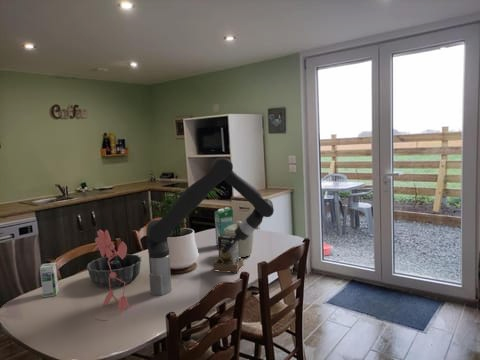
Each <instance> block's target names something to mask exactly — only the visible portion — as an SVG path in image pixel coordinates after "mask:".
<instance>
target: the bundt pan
mask: <svg viewBox="0 0 480 360" xmlns="http://www.w3.org/2000/svg"><path fill="white" fill-rule="evenodd" d="M114 255H115V254H112V256H114ZM112 256H110V258H111V257H112ZM108 260H109V258H108V257H107V256H104V257H102V256H101V257H100V258H97V259H95V260H92V261H91V262H89V263H87V266H86V269H87V271H88V274H89V278H90V280H91V282H92V283H94V284H95V285H97V286H99V287H100V286H101V287H102V288H106V287H109V288H110V287H115V286H116V285H117V286H119V287H120V286H122V285H124V282H125V285H126V284H128V283H130V282H131V283H132V282H133V281H134V280H135V279H136V278H137V277H138V276H139V274H140V271H141V270H140V269H141V262H142V257H141V256H140V255H138V254H130V253H126V255H125V257H124V258H123V259H121V258H120V256H119V255H118V254H116V255H115V256H114V257H113V258H112V259H111V260H110V261H109V264H110V267H111V270H112V272H115V273H116V278H118V279H120V280H122V281H124V282H122V281H120V280H118V279H116V278H113V279H112V278H110V277H109V275H110V273H111V271H110V268H109V265H108V262H107V261H108ZM109 278H110V286H109Z"/></svg>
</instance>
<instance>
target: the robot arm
mask: <svg viewBox="0 0 480 360" xmlns="http://www.w3.org/2000/svg"><path fill="white" fill-rule="evenodd" d="M233 169H234V166H233V162H232V161H231V160H230V159H229V158H227V157H217V158H215V159H213V160H212V162H210V170H209V171H208V172H207V173H206V174H205V175H204V176H203V177H201V178H200V179H198V180H197V181H195V182H193V183H192V184H191V185H189V186H188V187H187V188H186V189H185V190H184V191H183V192H182V193H181V194H180V195H179V196H178V198H177V199H176V200H175V202H174V203H173V205H172V206H171V208H170V209H169V210H168V212H167V213H166V214H165V215H164V216H163V217H162V218H160V219H154V220H152V221H150V222H149V223H148V224H147V226H146V242H147V243H146V244H147V251H148V261H149V263H148V264H149V274H148V277H149V278H148V279H149V291H150V295H154V296H155V295H156V296H163V295H167V294H169V293H170V292H172V276H171V262H170V261H171V260H170V259H171V258H170V249H169V248H170V247H169V244H168V238H169V236H170V235H171V234H172V233H173V232H174V230H175V229H176V228H177V226H178V225H180V223H182V221H183V220H185V219H186V218H187V216H189V215H190V214H191V213H192V212H193V211H194V210H195V209H197V207H198V206H199V205H200V204H202V203H203V201H204V200H205V198H206V197H208V195H210V193H211V192H212V191H213V190H214V189H215V188H216V187H217V186H218V185H219V184H221V183H222V182H223V181H224V182H226V183H227V184H228V185H230V186H231V187H232V188H233V189H234V190H235V191H237V192H238V194H240V195H241V196H242V197H243V198H244V199H245V200H246V201H248V202H249V203H250V205H252V206H253V208H254V209H253V211H252V212H251V214H249V215H248V216H247V218H245V219H244V220H243V221H241V222H242V223H241V224H240V225H239V226H238V227H237V228H236V229H235V235H234V236H233V237H232V238H233V239H231V240H230V242H229V243H228V244H229V245H230V247H229V246H228V244H227V245H225V247H224V248H223V249H222V252H223V253H226V251H227V250H228V249H230V248H231V247H232V245H233V246H234V245H235V244H236V243H238V242H239V241H240V240H246V239H247V238H248V237H249V236H250V235H251V234H252V233H253V231H254V232H255V231H256V229H257V228H258V227H259V226H260V225H261V224H262V223H263V219H264V218H270V217H272V216H273V214H274V211H275V210H274V204H273V201H271V199H269V198H263V196H262V195H263V194H262V193H261V192H260V191H258V190H257V188H255V186H253V185H252V184H251V183H249V182H248V181H247V180H245V179H243V178H242V177H241V176H239V174H237V173H236V172H235V171H234V170H233ZM253 234H254V233H253ZM234 243H235V244H234Z"/></svg>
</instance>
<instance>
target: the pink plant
mask: <svg viewBox="0 0 480 360" xmlns="http://www.w3.org/2000/svg"><path fill="white" fill-rule="evenodd" d="M96 233H97V237H95V239H94V242H95V243H96V244H97V245H96V246H95V247H94V248H93V250H92V252H95V250H97V249H98V250H99V255H100V256H101V258H102V257H108V258H109V260H108V261H107V262H108V265H109V268H110V271H111V273H110V275H109V277H110V278H112V279H113V278H116V273H115V272H112V270H111V267H110V264H109V261H110V260H111V259H112V258H113V257H114V256H115V255H119V256H120V258H121V259H123V258H124V257H125V255H126V254H127V250H128V247H127V244H126V243H125V242H124V241H121V243H120V244H119V245H118V247H117V251H116V249H115V247H116V246H115V244H114V243H113V242H112V239H111V236H110V233H109V231H108V230H107V229H105V231H103V230H102V229H98V230H97V231H96ZM112 255H114V256H112ZM110 256H112V257H111V258H110ZM110 278H109V286H108V287H109V291H108V293H107V295H106V296H105V298H104V300H103V304H102V306H106V305H107V304H109V302H110V300H111V299H114V300H115V302H116V303H117V306H118V309H119V311H120V313H121V314H122V313H123V312H124V311H125V310H126V308H128V309H130V308H131V306H130V304H129V302H128V299H127V297H126V296H125V289H126V288H125V287H126V284H125V282H124V281H122V280H120V279H118V278H116V279H118V280H120V281H122V282H124V284H123V290H122V291H123V292H122V296H121V297H120V298H119V300H118V299H117V298H116V297H115V295H114V290H111V287H110ZM96 320H97V321H99V319H98V318H96ZM101 321H102V322H109V321H108V319H107V320H101Z"/></svg>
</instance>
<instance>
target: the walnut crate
mask: <svg viewBox="0 0 480 360" xmlns="http://www.w3.org/2000/svg"><path fill="white" fill-rule="evenodd" d="M242 266H243V267H244V258H239V262H238V263H237V264H224V263H219V258H218V259H217V260H216V261H215V262H213V271H214V270H219V271H230V272H238V271H239V269H240V268H241V267H242ZM239 272H240V271H239ZM239 272H238V273H239Z"/></svg>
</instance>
